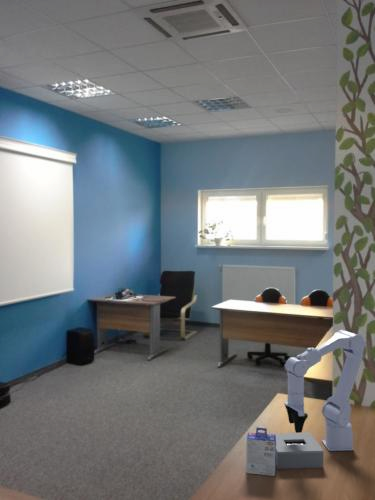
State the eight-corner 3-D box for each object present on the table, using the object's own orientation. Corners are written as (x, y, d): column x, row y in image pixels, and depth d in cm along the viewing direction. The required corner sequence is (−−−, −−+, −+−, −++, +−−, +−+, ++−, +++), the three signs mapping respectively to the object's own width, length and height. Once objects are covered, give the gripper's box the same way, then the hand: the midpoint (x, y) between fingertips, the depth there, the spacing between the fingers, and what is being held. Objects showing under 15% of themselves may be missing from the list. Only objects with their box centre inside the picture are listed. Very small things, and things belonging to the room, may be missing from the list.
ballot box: (310, 448, 177) (310, 432, 176) (323, 467, 163) (323, 450, 163) (268, 449, 176) (268, 433, 176) (277, 468, 162) (277, 452, 162)
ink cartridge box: (276, 468, 162) (276, 427, 162) (275, 476, 157) (276, 434, 156) (247, 465, 164) (247, 425, 164) (246, 473, 159) (246, 432, 158)
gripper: (279, 384, 177) (279, 419, 178) (290, 398, 163) (290, 436, 164) (297, 383, 178) (297, 418, 179) (310, 398, 163) (310, 436, 164)
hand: (295, 427), depth 171 cm, fingers open, 7 cm apart
